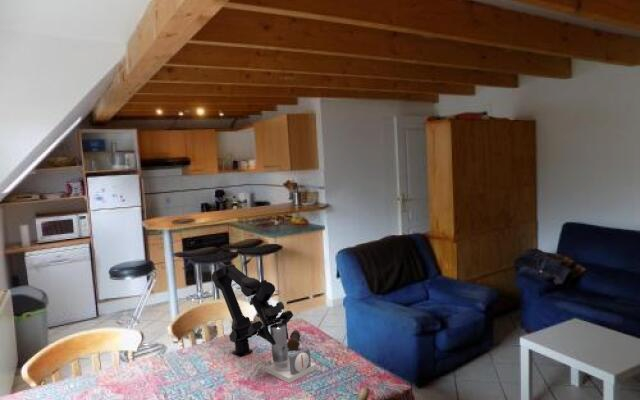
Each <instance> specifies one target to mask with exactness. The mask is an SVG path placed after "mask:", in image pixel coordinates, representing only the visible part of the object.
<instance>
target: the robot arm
mask: <svg viewBox="0 0 640 400" xmlns="http://www.w3.org/2000/svg"><path fill="white" fill-rule="evenodd" d="M211 281H212V282H213V283H214V286H215V287H216V288H218V289H219V290H220V291H221V293H222V296H223V299H224V301H225V305H226V307H227V310H228V312H229V314H230V317H231V320H232V321H231V326H230V327H231V332H230V334H229V335H228V337H229V340H230V342H232V343H234V351H232V354H233V355H235V356H238V357H240V358H241V357H243V356H245V355H248V354H250V353H252V352H253V350H252V349H250V344H249V343H250V342H249V338H253V336H257V337H260V338H262V339H264V340H266V341H267V342H268V343H270V344H271V345H272V344H273V345H275V342H274V339H273V338H272V336H271V331H270V329H269V327H270V326H271V325H273V324H277V323H283V324H285V325H286V335H287V341H289V339H290V336H289V333H288V325H287V323H289V322H290V321H291V320H292V318H293V316H294V314H293V312H292V310H289V309H288V310H285V305H284V303H283V302H282V301H279V302H276V303H275V305H274V306H273V304H270V303H269V301H270V299H271V298H272V296H273V295H274V293H275V291H276V287H275V285H274V284H273V283H272V282H269V281H267V280H266V279H263V280H261V281H260V280H259V279H256V278H255V277H249V276H247V275H246V274H245V273H244V272H242V271H241V270H240V269H238V268H237V267H236V265H235V264H227V265H224V266H223V267H221V268H220V269H218V270H214V271H213V272H212V274H211ZM233 282H234V283H236V284H237V285H238V286H239V287H240V292H241V293H242V294H243V295H244V296H245V297H248V298H249V297H250V301H249V306H253V308H254V309H255V311H256V313H257V314H256V317H257V318H259V319H260V320H258V321H255V322H253V323H252V322H251V320H250V317H249V316H245V315H244V314H243V312H242V309H241V306H240V304H239V300H238V298H237V296H236V294H235V291H234V289H233V287H232V284H233ZM251 296H252V297H251ZM283 310H285V311H284V312H283Z"/></svg>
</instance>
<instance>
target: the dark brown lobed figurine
mask: <svg viewBox="0 0 640 400" xmlns="http://www.w3.org/2000/svg"><path fill="white" fill-rule="evenodd" d="M301 337H302V336H301V334H300V331H299V330H297V329H295V330H293V331H292V332H291V333H290V336H289V338H288V340H287V349H288V350H289V352H295V351H298V350H299V347H300V345H301V343H300V342H299V341H300V338H301Z"/></svg>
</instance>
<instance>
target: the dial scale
mask: <svg viewBox="0 0 640 400" xmlns="http://www.w3.org/2000/svg"><path fill="white" fill-rule="evenodd" d="M310 351H311V350H310V348H309V347H305V348H303V349H302V350H299V351H297V352H295V353H293V354H290V355H288V359H287V360H286V361H284V362H275V361H274V363H272V364H270V365H267V366H266V367H265V370H266V373H267V374H269V375H272V376H273V377H276V378H277V379H280V380H281V381H284V382H285V383H288V384H291V383H293V382H294V381H296V380H298V379H300V378H302V377H305V376H307V375H308V374H310V373H311V372H313V371H315V370H317V363H315V362H312V361H311V352H310Z"/></svg>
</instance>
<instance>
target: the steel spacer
mask: <svg viewBox="0 0 640 400" xmlns="http://www.w3.org/2000/svg"><path fill="white" fill-rule="evenodd" d="M269 332H270V334H271V336H272V338H273V339H274V342H275V345H273V344H271V354H272V361H273V362H274V363H275V362H284V361H286V360H287V359H288V356H289V351H288V350H289V349H288V347H287V343H288V340H287V335H286V325H285V324H283V323H276V324H273V325H270V326H269Z"/></svg>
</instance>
